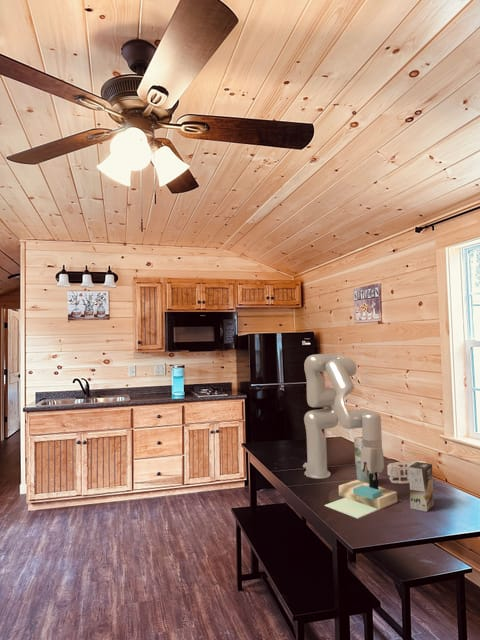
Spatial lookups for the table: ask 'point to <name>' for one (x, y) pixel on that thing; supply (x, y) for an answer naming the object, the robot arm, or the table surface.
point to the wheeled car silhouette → (395, 471)
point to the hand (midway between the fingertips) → (373, 489)
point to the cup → (361, 473)
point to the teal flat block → (367, 492)
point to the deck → (379, 503)
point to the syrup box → (358, 448)
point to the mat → (351, 507)
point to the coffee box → (421, 486)
